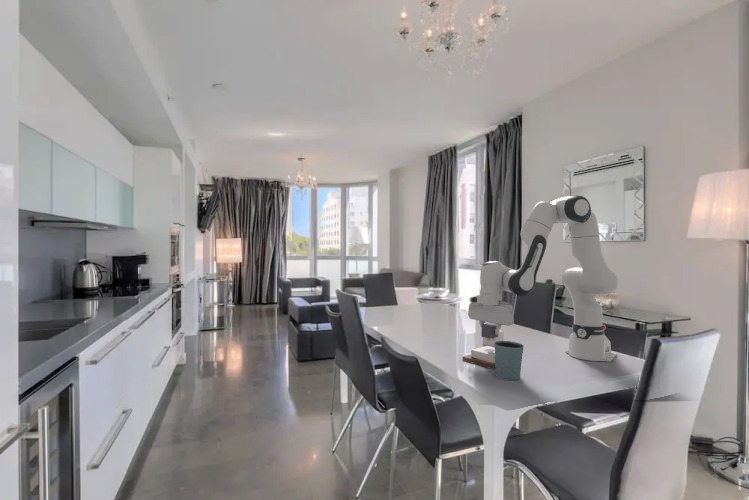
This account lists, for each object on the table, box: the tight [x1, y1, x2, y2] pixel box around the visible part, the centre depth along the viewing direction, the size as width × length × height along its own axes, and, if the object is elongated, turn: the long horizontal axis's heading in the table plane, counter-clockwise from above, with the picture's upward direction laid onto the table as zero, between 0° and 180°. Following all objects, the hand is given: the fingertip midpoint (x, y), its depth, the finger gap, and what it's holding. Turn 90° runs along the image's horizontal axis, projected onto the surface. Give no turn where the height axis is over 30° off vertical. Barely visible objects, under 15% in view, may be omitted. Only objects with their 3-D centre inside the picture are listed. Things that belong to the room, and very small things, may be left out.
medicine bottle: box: [482, 322, 505, 348], centre depth 192 cm, size 7×7×12 cm
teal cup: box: [494, 340, 525, 381], centre depth 146 cm, size 10×10×12 cm
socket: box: [470, 345, 495, 363], centre depth 166 cm, size 11×11×4 cm
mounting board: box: [462, 353, 496, 370], centre depth 166 cm, size 16×16×2 cm
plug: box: [480, 323, 498, 341], centre depth 166 cm, size 7×4×6 cm, turn 129°
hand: (489, 332), depth 165 cm, fingers closed on plug, 4 cm apart
